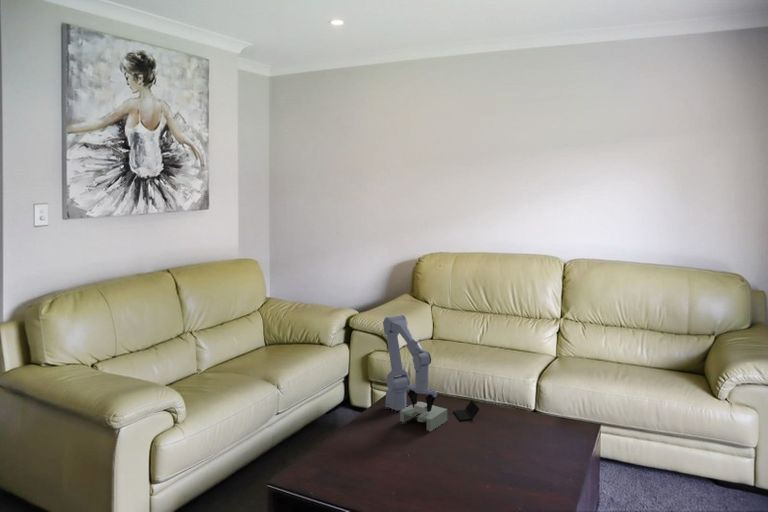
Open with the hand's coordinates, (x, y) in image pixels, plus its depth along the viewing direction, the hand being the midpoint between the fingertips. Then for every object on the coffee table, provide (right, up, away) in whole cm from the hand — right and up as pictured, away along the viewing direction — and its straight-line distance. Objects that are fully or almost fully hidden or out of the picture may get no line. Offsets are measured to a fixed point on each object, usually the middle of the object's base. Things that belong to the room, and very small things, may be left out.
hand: (421, 409), depth 255 cm
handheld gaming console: (+21, -6, +8) cm, 23 cm away
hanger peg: (0, -5, +1) cm, 5 cm away
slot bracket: (+1, -6, +2) cm, 7 cm away
